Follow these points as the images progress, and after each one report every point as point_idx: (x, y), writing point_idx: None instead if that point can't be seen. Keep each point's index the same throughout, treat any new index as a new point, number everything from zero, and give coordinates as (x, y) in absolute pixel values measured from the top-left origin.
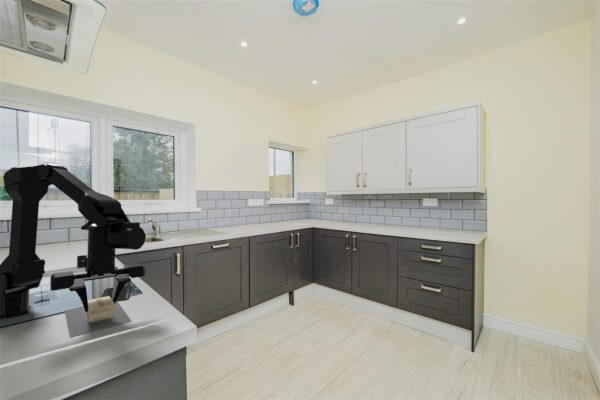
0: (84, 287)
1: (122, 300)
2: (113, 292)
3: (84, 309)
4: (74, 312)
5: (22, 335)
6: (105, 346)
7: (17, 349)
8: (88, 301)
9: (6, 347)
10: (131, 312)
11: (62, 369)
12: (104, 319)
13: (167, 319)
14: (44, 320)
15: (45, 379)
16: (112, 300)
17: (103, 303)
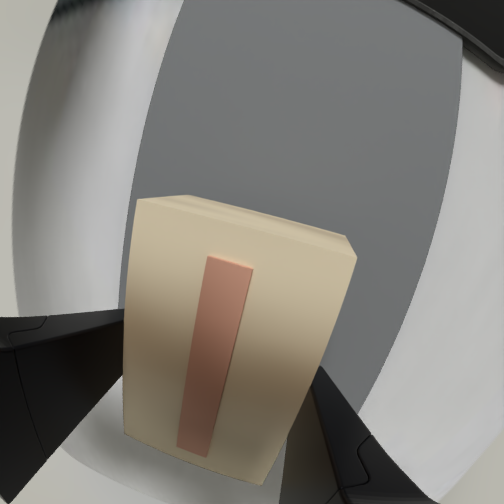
0: (1, 496)
1: (487, 55)
2: (304, 465)
3: (271, 8)
4: (215, 19)
5: (39, 147)
6: (195, 477)
7: (26, 268)
8: (144, 255)
9: (12, 222)
10: (443, 292)
11: (108, 463)
12: None
13: (428, 477)
14: (116, 24)
15: (88, 460)
16: (294, 422)
17: (212, 427)
